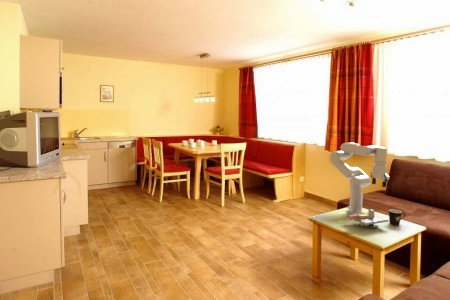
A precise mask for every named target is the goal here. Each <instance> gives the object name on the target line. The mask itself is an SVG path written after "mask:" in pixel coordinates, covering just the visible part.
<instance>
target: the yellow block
mask: <svg viewBox="0 0 450 300" xmlns="http://www.w3.org/2000/svg"><path fill="white" fill-rule="evenodd" d="M368 217H369V215H367V214H362V215H361V219H366V218H368ZM359 226H360V227H367V226H366V225H364V224H362V223H360V222H359Z"/></svg>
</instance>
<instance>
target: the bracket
mask: <svg viewBox="0 0 450 300" xmlns="http://www.w3.org/2000/svg"><path fill="white" fill-rule="evenodd" d="M348 215H349V217H348V219H349V220H351V221H352V220H353V219H358V220H361V215H358V214H356V213H354V215H350V214H348Z"/></svg>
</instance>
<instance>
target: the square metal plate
mask: <svg viewBox="0 0 450 300" xmlns="http://www.w3.org/2000/svg"><path fill="white" fill-rule="evenodd" d="M357 214H358V215H362V214H367V215H369V217H368V218H366V219H361V220H358V219H352V220H353V221H356V222H358V223H359V224H360V223H362V224H364V225H366V226H365V227H368V228H370V229H372V228H373V229H374V228H378V227H379V226H378V224H380V223H381V224H382V223H389V219H388V218H386V217H383V216H380V215H378V214H375V210H374V209H370V208H369V209H368V211H367V212H363V213H357ZM349 215H354V214H346V218H349Z"/></svg>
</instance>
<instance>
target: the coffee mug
mask: <svg viewBox="0 0 450 300" xmlns="http://www.w3.org/2000/svg"><path fill="white" fill-rule="evenodd" d="M402 215H403V216H402ZM405 216H406V213H405V212H402V211H401V210H398V209H394V208H393V209H388V218H389V219H388V220H389V221H388V223H389V224H390V225H392V226H395V227H396V226H397V227H398V226H400V222H401V220H403V219H404V218H405Z"/></svg>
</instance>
